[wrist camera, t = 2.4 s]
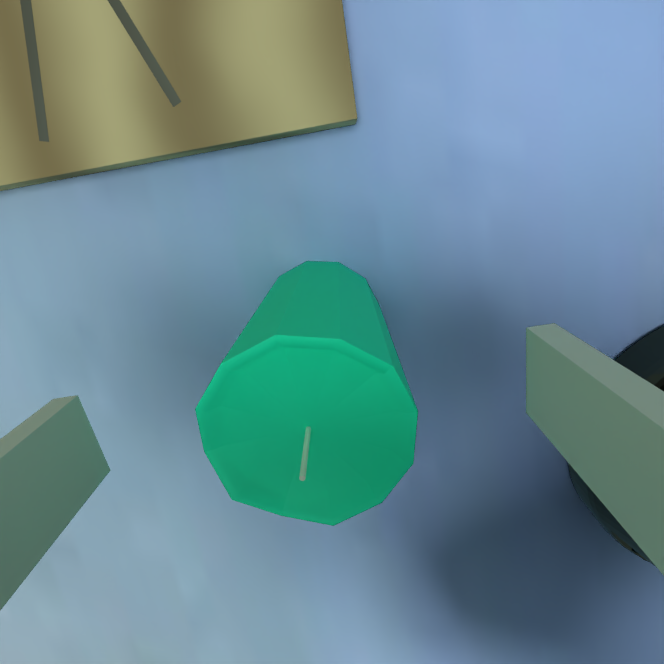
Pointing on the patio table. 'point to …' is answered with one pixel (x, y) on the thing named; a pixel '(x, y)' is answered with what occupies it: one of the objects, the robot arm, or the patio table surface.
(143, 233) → the patio table surface
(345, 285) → the candle
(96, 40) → the oak board
